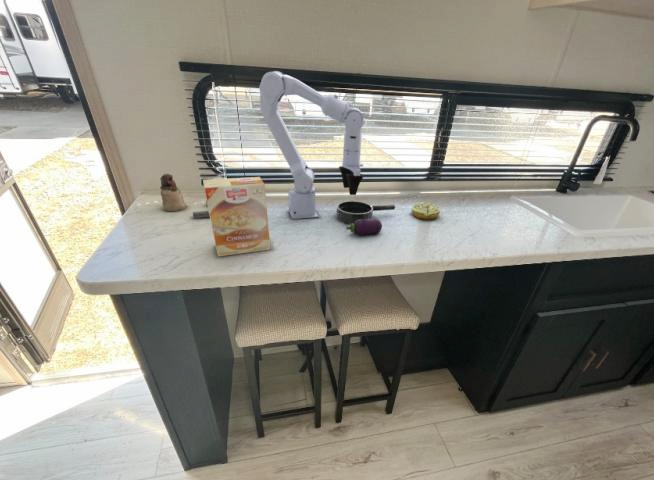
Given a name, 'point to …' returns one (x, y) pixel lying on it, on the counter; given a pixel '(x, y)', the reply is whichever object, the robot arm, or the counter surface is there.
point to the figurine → (171, 194)
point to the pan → (353, 211)
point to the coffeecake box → (238, 215)
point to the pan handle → (383, 207)
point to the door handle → (201, 214)
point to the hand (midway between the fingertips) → (349, 191)
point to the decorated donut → (425, 210)
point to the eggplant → (365, 226)
